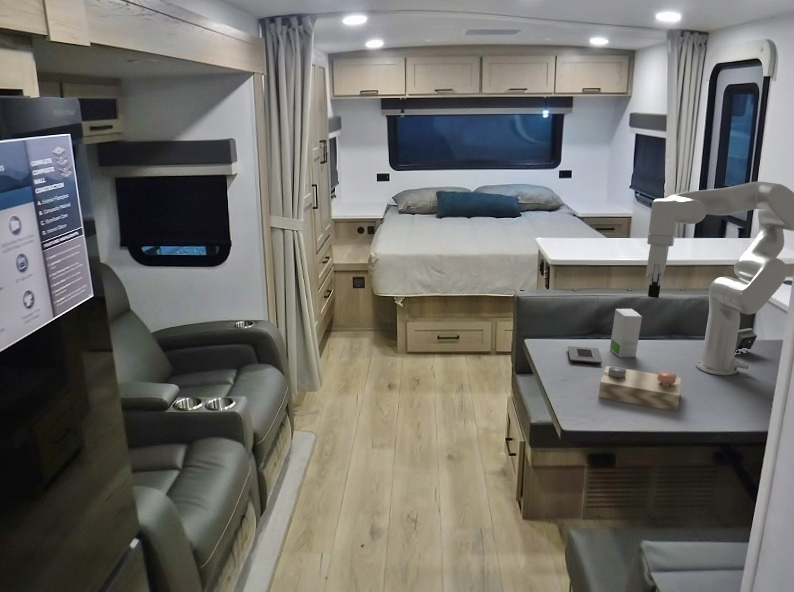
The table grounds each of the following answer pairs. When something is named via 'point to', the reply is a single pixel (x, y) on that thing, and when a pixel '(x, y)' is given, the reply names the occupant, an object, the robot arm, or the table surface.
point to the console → (640, 389)
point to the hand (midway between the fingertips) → (653, 296)
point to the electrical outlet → (584, 354)
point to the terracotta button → (666, 378)
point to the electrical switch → (745, 339)
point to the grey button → (617, 372)
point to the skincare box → (625, 332)
